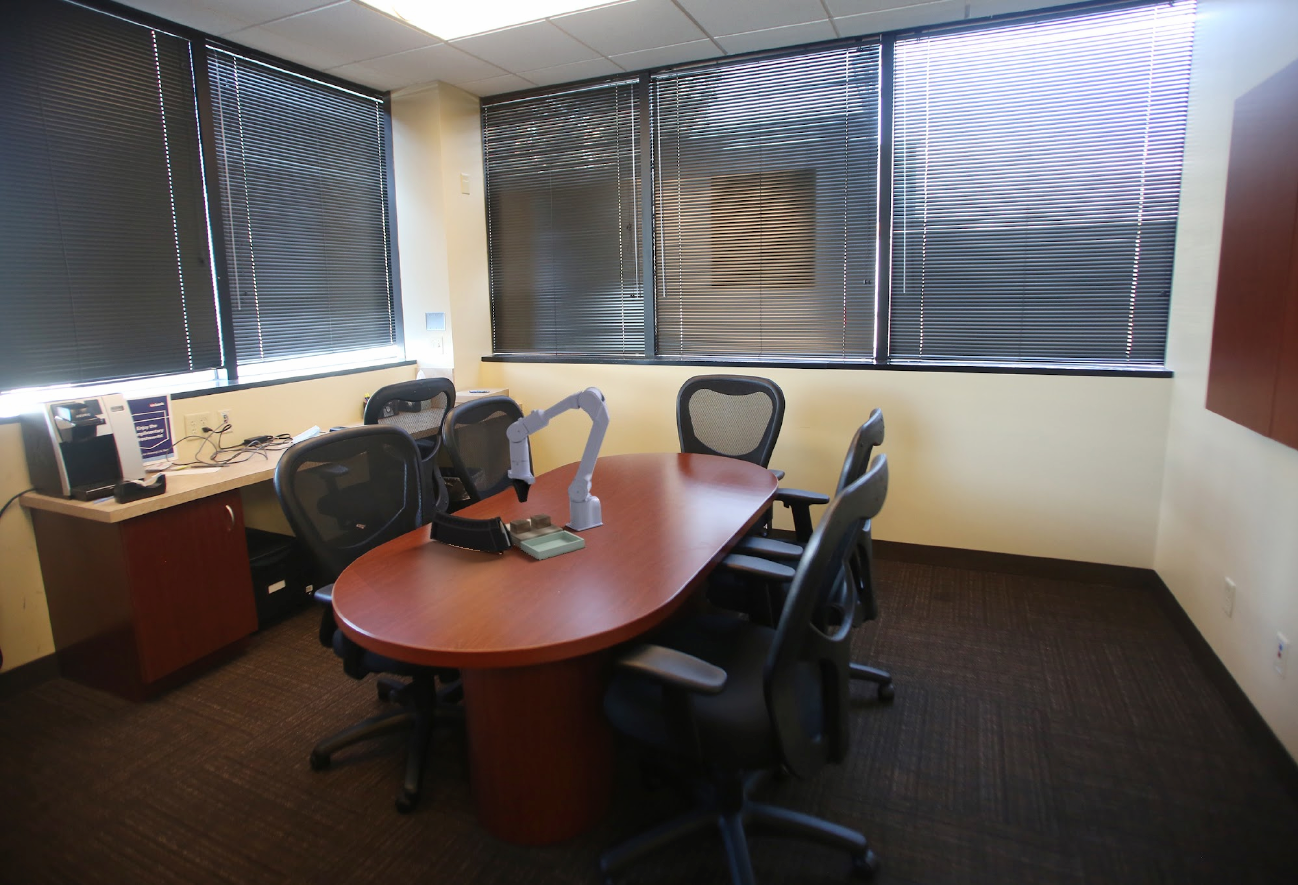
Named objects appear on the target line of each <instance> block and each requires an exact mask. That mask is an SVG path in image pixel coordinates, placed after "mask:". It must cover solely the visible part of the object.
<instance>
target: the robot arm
mask: <svg viewBox="0 0 1298 885" xmlns="http://www.w3.org/2000/svg"><path fill="white" fill-rule="evenodd" d="M571 409H573V410H580V409H582V410H583V411H584V412H585V413H586V414H587V415H588V417H589V418H590V419H591V421H592V426H591V428H590V431H589V435H588V438H587V442H586V444H585V447H584V451H583V453H582V457H581V459H580V460H581V461H580V463H579V466H578V469H577V472H576V474H575V476H574V478H573V479H572V482H571V483H570V485H569V486H568V489H567V495H568V497H569V498H568V500H569V502H568V503H569V519H570V522H567V523H565V526H566V527H568V528H571V529H573V530H574V531H576V532H581V531H584V530H589V529H592V528H596V527H599V526H603V525H604V523H603V522H602V505H601V502H600V499H599V498H598V497H597V496H596V495H592V494H591V492H590V490H592V485H593V484H592V477H593V473H594V469H595V467H596V464H597V460H598V457H599V455H600V451H601V448H602V445H603V441H604V438H605V436H606V433H607V430H608V426H609V424H610V421H611V420H610V419H611V417H610V413H609V409H608V406H607V401H606V397H605V395H604V394H603V393H602V391H601V390H600V389H599V388H597V387H595V386H590V387H587V388H586V389H585V390H580V391H578V392H574V393H573V394H570V395H568V396H566V397H565V398H564V399H562V400H560V401H558V402H556V403H555V404H553V405H552V406H550V407H548V408H547V409H540V408H539V409H535V408H534V409H533V410H531V411H530V413H529V414H527V415H526V416H524V417H519V418H518V419H517V421H515V422H513V423H512V424H510V425H509V426H508V428H507V429H506V437H507V439H508V440H509V458H510V469H508V470H507V477H508V478H509V479H513V480H511V481H510V484H511V486H512V487H513V489H514V491H515V493H516V496H517V500H518V502H519V503H521V504H523V503H527V502H528V497H529V492H530V489H531V486H532V485H534V484H536V477H535V476H534V475H532V473H531V466H530V454H529V444H528V436H532V435H533V434H535V433H537V432H538V431H540V430H542V429H544V428H545V427H546V428H547V426H549V423H550V419H551V420H552V419H553V418H555V417H557V416H559V415H561V414H563V413H564V412H566V411H569V410H571Z"/></svg>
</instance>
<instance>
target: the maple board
mask: <svg viewBox="0 0 1298 885" xmlns="http://www.w3.org/2000/svg"><path fill="white" fill-rule="evenodd" d="M526 520H528V521H530V528H531V531H530V532H526V533H522V534H518V535H517V534H515V533H513V532H511V531H510V523H505V525H506V527H507V529H508V530H509V531H510V533H511V537H512V540H513V543H514V544H515V545H516V546H518V547H519V548H518V547H517V548H518V549H520V548H521V546H520V542H522V541H526V540H530V539H534V538H538V537H541V536H545V535H549V534H553V533H557V532H561V531H564V530H563V528H562V527H559V526H557V525H556V524H553V523H551V526H549V527H545V528H541V529H536V528H534V527H532V526H531V519H530V518H528V519H526ZM515 545H514V546H515ZM516 546H515V547H516Z"/></svg>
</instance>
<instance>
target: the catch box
mask: <svg viewBox="0 0 1298 885" xmlns="http://www.w3.org/2000/svg"><path fill="white" fill-rule="evenodd" d="M520 546H521V549H520V551H521V550H523V551H524V553H525V552H526V553H525V554H527V553H528V554H527V555H529V554H530V555H532V556H533V557H532V556H531V557H532V558H534V557H535V558H534V559H536V560H538V559H539V560H538V561H542V560H541V559H543V560H546V559H549V558H548V557H550V558H553V557H555V556H559V555H564V554H567V553H570V552H574V551H579V550H581V549H584V548H586V541H585V539H584V538H582V537H580V536H578V535H576V534H574V533H573V532H570V531H568V530H563V531H561V532H557V533H553V534H549V535H545V536H541V537H538V538H534V539H530V540H526V541H522V542H520ZM523 551H522V552H523ZM563 553H564V554H563ZM530 555H529V556H530Z"/></svg>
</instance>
